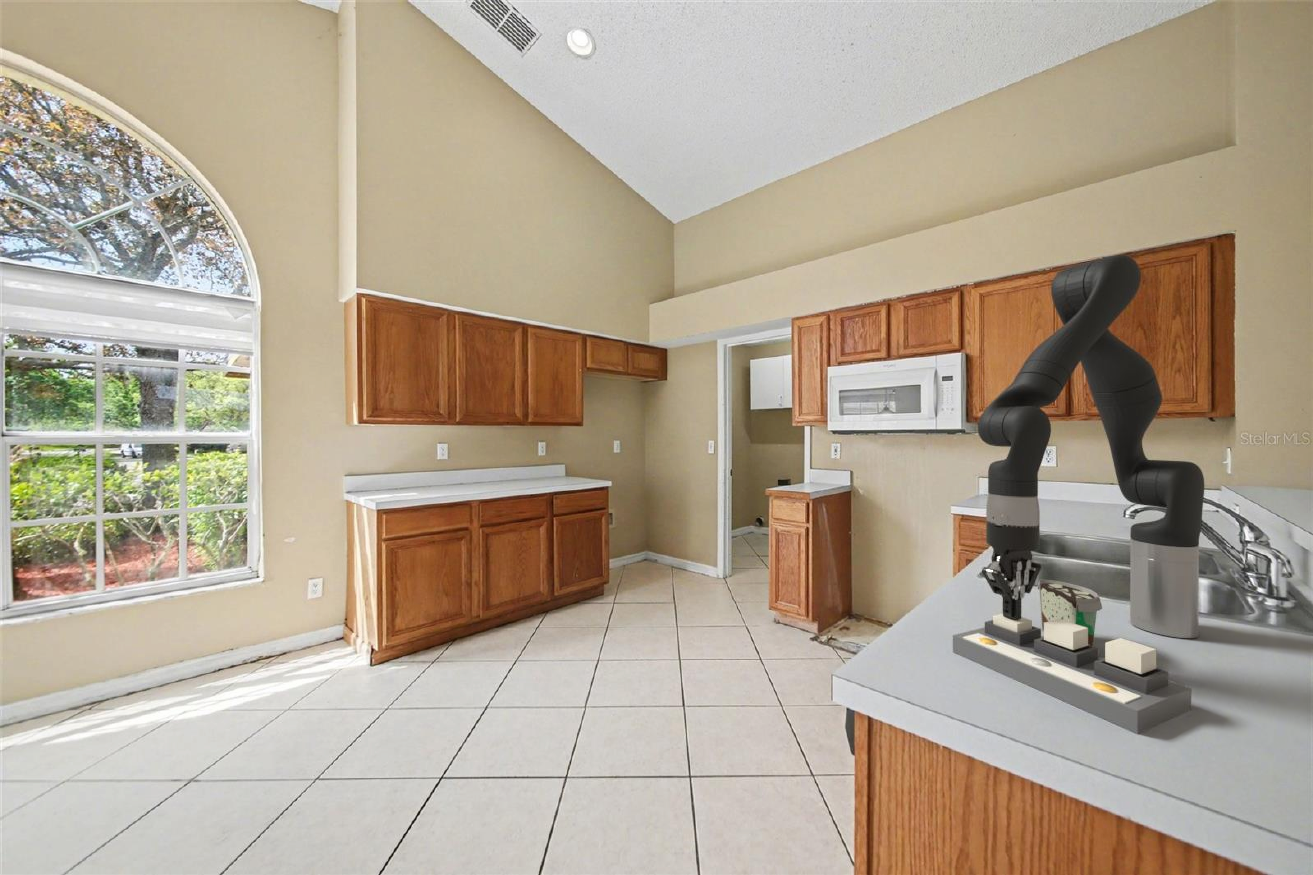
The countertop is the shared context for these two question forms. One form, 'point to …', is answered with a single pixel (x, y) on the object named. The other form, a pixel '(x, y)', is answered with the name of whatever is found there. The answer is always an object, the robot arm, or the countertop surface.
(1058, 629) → the button middle
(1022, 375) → the robot arm
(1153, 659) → the button right
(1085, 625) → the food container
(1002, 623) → the button left
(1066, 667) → the button board
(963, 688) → the countertop surface
